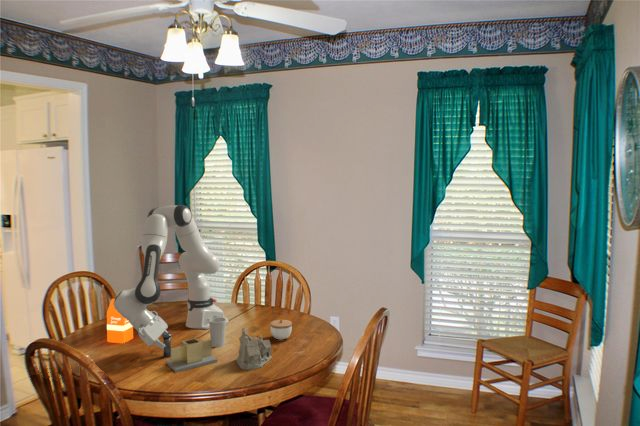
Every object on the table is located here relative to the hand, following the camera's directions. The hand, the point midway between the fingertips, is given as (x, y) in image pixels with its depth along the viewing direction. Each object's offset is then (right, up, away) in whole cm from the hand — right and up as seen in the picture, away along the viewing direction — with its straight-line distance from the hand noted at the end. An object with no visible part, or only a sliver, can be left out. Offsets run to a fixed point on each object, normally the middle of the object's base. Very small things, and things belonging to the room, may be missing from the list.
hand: (167, 343), depth 200 cm
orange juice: (-29, -4, +20) cm, 35 cm away
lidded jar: (+48, -5, +25) cm, 54 cm away
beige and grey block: (+12, -5, -6) cm, 15 cm away
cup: (+19, -5, +15) cm, 25 cm away
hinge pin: (0, -6, 0) cm, 6 cm away
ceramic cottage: (+39, -7, -4) cm, 40 cm away
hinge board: (+12, -6, -6) cm, 15 cm away
